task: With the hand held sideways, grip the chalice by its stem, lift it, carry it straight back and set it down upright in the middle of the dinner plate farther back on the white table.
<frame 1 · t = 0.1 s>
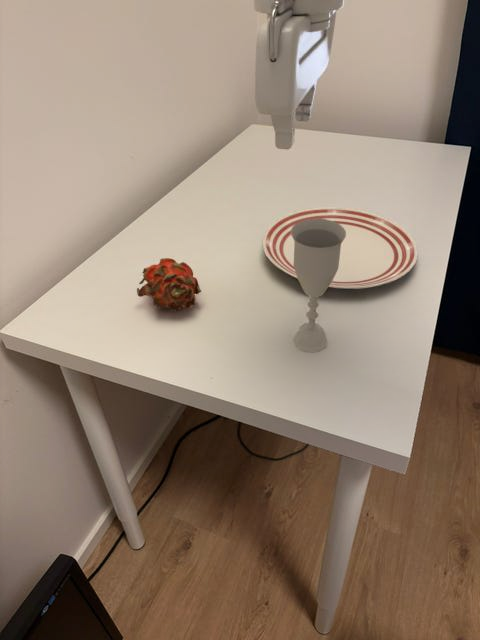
hand: (294, 132, 56), 29 cm above the table, tool pointing down, fingers open, 8 cm apart
chalice: (310, 341, 72), on the table
dinner plate: (337, 257, 89), on the table
dragon fruit: (170, 303, 80), on the table
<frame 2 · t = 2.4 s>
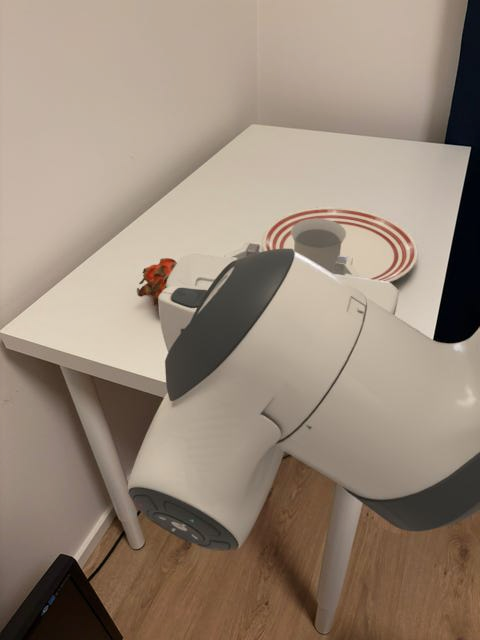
hand: (297, 255, 49), 22 cm above the table, tool horizontal, fingers open, 8 cm apart
nothing on the table moved.
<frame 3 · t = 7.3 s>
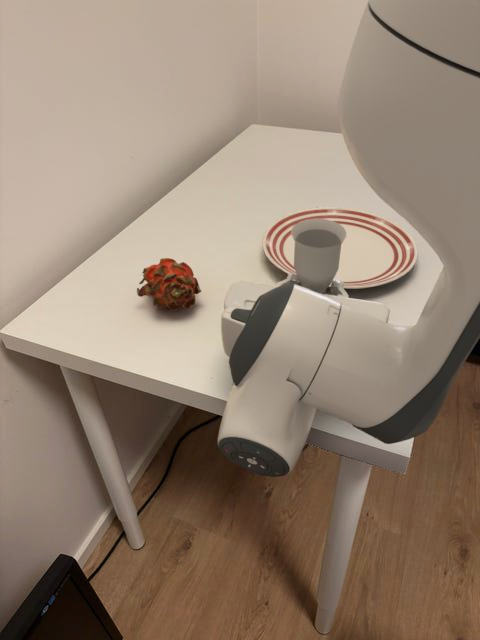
hand: (315, 281, 66), 10 cm above the table, tool horizontal, fingers closed on chalice, 4 cm apart
chalice: (310, 341, 72), on the table, touching gripper
everything else where it was.
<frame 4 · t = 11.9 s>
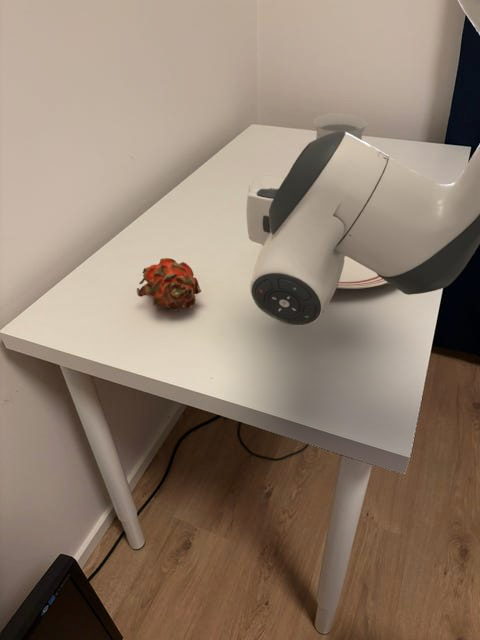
hand: (335, 179, 68), 20 cm above the table, tool horizontal, fingers closed on chalice, 5 cm apart
chalice: (328, 246, 73), point 10 cm above the table, touching gripper
everything else where it was.
when the fingers open (13 cm above the table, at t = 16.6 s): chalice stays where it is, resting on dinner plate.
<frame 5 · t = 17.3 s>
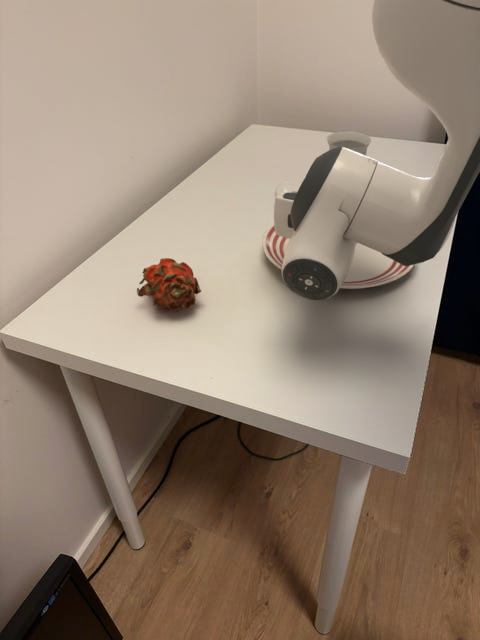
hand: (345, 183, 81), 14 cm above the table, tool horizontal, fingers open, 8 cm apart
chalice: (338, 241, 87), point 3 cm above the table, touching dinner plate
dinner plate: (337, 257, 89), on the table, touching chalice
everything else where it was.
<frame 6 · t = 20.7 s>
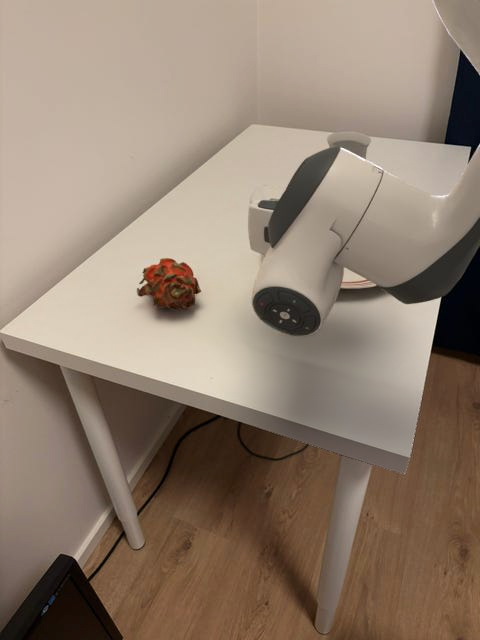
hand: (335, 188, 68), 18 cm above the table, tool horizontal, fingers open, 8 cm apart
nothing on the table moved.
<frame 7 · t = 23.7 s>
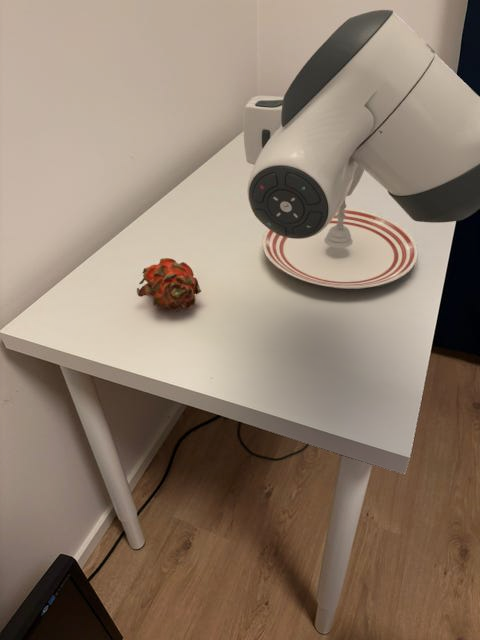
hand: (342, 103, 61), 30 cm above the table, tool horizontal, fingers open, 8 cm apart
nothing on the table moved.
at the end: chalice inside the target area on the dinner plate (0.1 cm from its centre), point 3.3 cm above the dinner plate's base; chalice tilted 0°; the gripper is holding nothing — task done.
